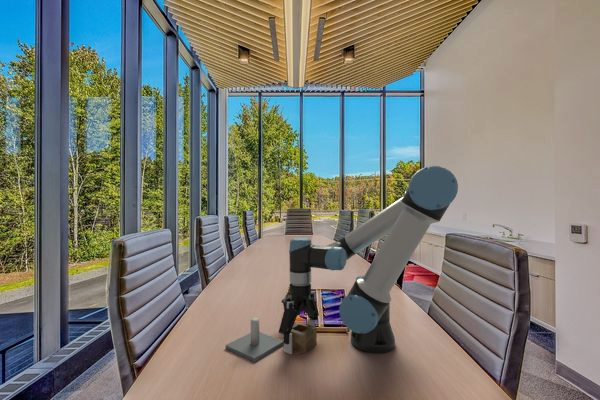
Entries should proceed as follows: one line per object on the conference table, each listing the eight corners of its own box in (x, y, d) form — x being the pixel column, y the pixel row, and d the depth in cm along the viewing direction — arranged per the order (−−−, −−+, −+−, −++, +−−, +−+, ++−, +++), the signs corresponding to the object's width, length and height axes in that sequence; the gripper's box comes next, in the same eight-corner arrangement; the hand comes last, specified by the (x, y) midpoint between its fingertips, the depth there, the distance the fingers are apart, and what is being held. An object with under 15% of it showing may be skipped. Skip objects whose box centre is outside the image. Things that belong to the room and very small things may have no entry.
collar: (316, 344, 103) (316, 327, 103) (302, 353, 97) (302, 335, 97) (298, 337, 108) (298, 321, 108) (284, 346, 102) (284, 329, 102)
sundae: (290, 321, 123) (290, 285, 123) (301, 326, 118) (301, 288, 118) (277, 325, 118) (277, 288, 118) (289, 331, 113) (289, 292, 113)
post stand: (283, 344, 103) (283, 318, 103) (254, 362, 92) (254, 332, 92) (255, 333, 111) (255, 309, 111) (225, 348, 100) (225, 321, 100)
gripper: (311, 274, 114) (311, 329, 114) (267, 289, 95) (267, 356, 95) (328, 277, 110) (328, 334, 110) (285, 294, 90) (285, 364, 90)
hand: (300, 345), depth 102 cm, fingers open, 12 cm apart
